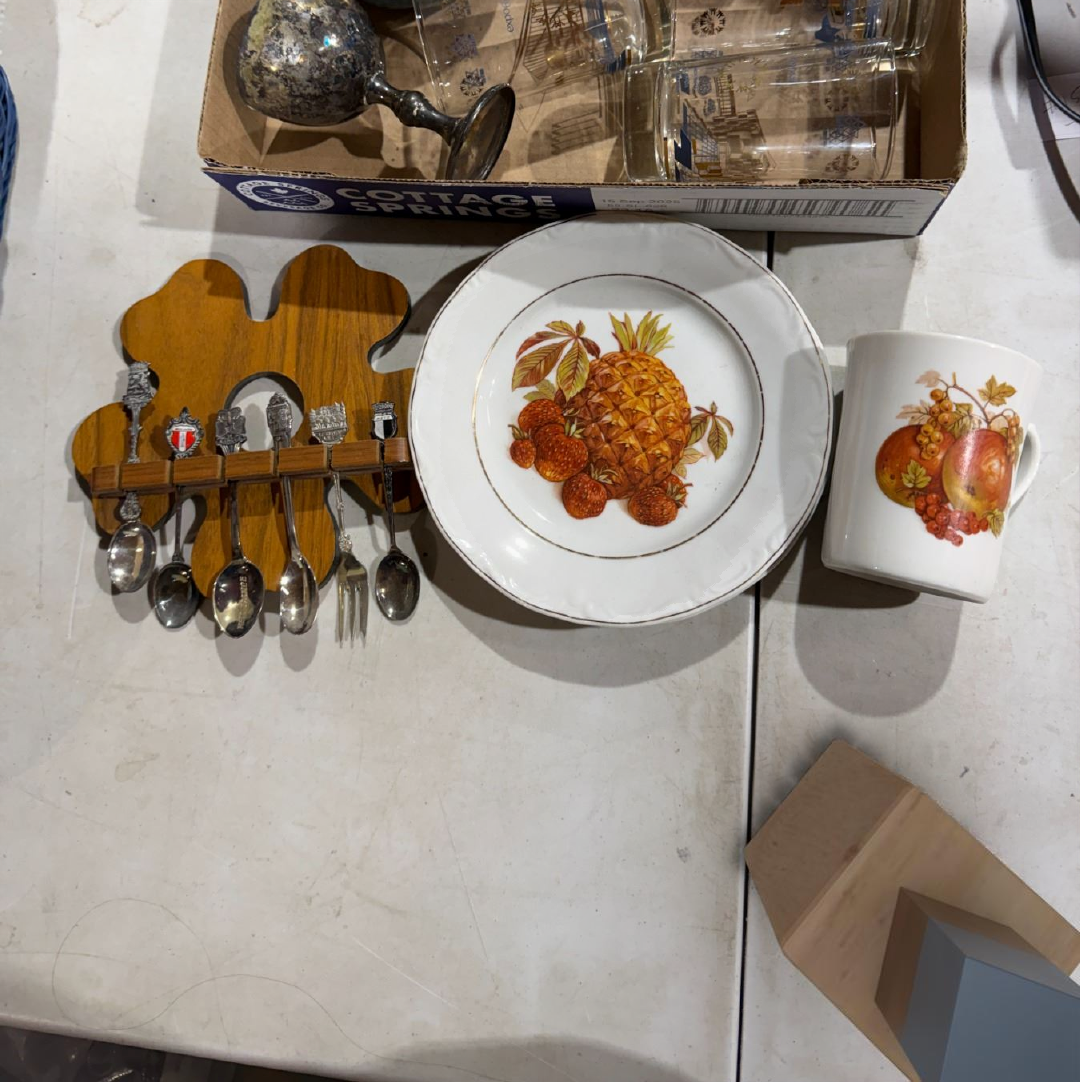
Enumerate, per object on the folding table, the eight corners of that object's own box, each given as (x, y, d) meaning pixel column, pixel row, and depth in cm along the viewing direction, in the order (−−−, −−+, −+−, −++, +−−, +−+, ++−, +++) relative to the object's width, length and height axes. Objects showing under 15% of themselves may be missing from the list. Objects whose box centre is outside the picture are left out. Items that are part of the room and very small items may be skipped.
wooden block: (738, 852, 64) (776, 950, 45) (836, 734, 65) (913, 781, 46) (862, 973, 62) (958, 1131, 43) (961, 848, 63) (1098, 948, 44)
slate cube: (1027, 1097, 38) (1081, 1165, 34) (899, 1046, 39) (934, 1105, 35) (1053, 963, 40) (1109, 1010, 35) (927, 915, 40) (965, 955, 36)
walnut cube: (987, 1046, 43) (1029, 1099, 38) (873, 1001, 44) (901, 1048, 39) (1011, 927, 44) (1055, 964, 40) (899, 886, 45) (929, 918, 40)
